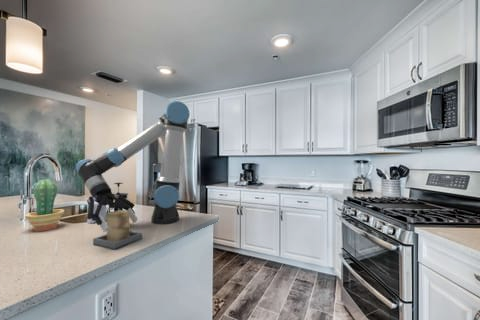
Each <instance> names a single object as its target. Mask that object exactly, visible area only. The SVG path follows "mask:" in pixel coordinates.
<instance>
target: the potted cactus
mask: <svg viewBox="0 0 480 320" xmlns="http://www.w3.org/2000/svg"><path fill="white" fill-rule="evenodd" d="M31 190H32V194H33V197H34V199H35V202H36V206H35V207H36V211H33V212H29V213H26V214H25V215H24V217H25V219H26V220H27V221H28V223H29V224H30V225H31V226H32V227H33V228H34V229H33V231H35V232H39V231H48V230H52V229H56V228H57V227H58V223H59V221H60V220H61V219H62V215H64V213H65V209H62V208H61V209H60V208H59V209H58V208H57V209H54V204H55V200H56V197H57V195H58V186H57V184H56V182H54V181H53V180H52V179H39V181H38V182H35V183H34V184H33V185H32V186H31Z"/></svg>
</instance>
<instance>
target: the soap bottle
mask: <svg viewBox="0 0 480 320" xmlns="http://www.w3.org/2000/svg"><path fill="white" fill-rule="evenodd" d="M98 204H99V203H97V202H95V201H94V213H93V214H95V211H96V209H97V206H98ZM86 206H87V208H86V211H87V212H86V216H87V215H88V203H87V205H86ZM99 215H102V217H103V219H104V220H105V221H107V205H106V206H104V205H102V208H101V210H100V213H99ZM99 215H98V216H99ZM86 222H87V223H88V224H97V223H96V221H93V220H92V219H87V221H86ZM94 222H95V223H94Z"/></svg>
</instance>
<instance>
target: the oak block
mask: <svg viewBox="0 0 480 320" xmlns="http://www.w3.org/2000/svg"><path fill="white" fill-rule="evenodd" d="M106 224H107V225H108V227H109V228H108V230H107V231H106V234H107V241H112V242H117V241H120V240H123V239H125V238H128V237H130V231H131V230H130V217H129V211H127V210H124V209H123V210H118V211H110V212H109V211H108V212H106Z"/></svg>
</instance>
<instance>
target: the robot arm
mask: <svg viewBox="0 0 480 320" xmlns="http://www.w3.org/2000/svg"><path fill="white" fill-rule="evenodd" d="M164 109H165V110H164V114H163V115H162V116H161V117H159V118H158V119H157V121H156V122H155V123H154V124H152V125H151V126H149V127H147V128H146V129H144V130H143V131H142V132H140V133H138V134H137V135H136V136H134V137H132V138H130V140H128V141H126V142H125V143H124V144H122V145H120V146H119V147H118V148H116V147H113V148H110V149H108V150H107V151H105V152H104V153H102V154H101V155H99V156H97V157H95V158H94V159H90V158H84V159H81V160H80V161H78V162H77V163H76V164H75V169H76V172H77V174H78V176H79V177H80V178H81V180H82V182H83V183H84V185H85V187H86V188H87V190H88V192H89V193H90V196H89V197H88V198H87V201H86V202H87V204H88V215H87V214H86V216H87V217H86V218H87V219H92V220H93V221H96V223H95V224H97V226H99V227H100V228H101V230H102V231H103V233H107V230H108V228H109V227H108V225H107V221H106V220H104V219H103V217H102V215H99V213H100V210H101V208H102V205H104V206H106V207H107V206H109V205H111V204H112V205H116V206H118V207H120V208H123V210H124V211H129V220H131V222H132V224H135V223H136V222H137V221H138V217H137V216H136V212H135V211H134V207H135V204H134V203H133V202H131V201H130V200H129V199H128V198H124V197H123V196H122V195H121V194H120V193H121V192H120V191H119V192H118V191H117V194H116V193H114V192H112V188H111V187H110V185H109V184H108V182H107V181H106V180H105V178H104V176H103V174H105V173H106V172H108V171H109V170H111V169H113V168H118V167H119V166H122V164H123V163H125V162H126V161H127V160H129V159H130V158H132V157H133V156H135V154H137V153H139V152H141V151H142V150H143V149H145V148H146V147H148V146H149V145H151V144H152V143H154V142H155V141H156V140H158V139H160V138H161V137H162V136H163V135H165V137H164V143H163V151H162V158H161V164H160V165H161V166H160V172H159V177H158V178H156V180H155V181H154V183H153V188H154V189H153V191H154V194H153V200H154V203H153V204H154V209H153V211H152V214H151V219H150V220H151V221H150V222H151V223H153V224H156V225H164V224H165V225H166V224H171V223H176V222H177V221H180V215H179V211H178V209H177V203H178V201H179V199H180V192H179V191H180V180H179V179H178V175H179V174H178V173H179V166H180V159H181V152H182V144H183V136H184V133H185V132H187V128H188V121H189V118H190V109H189V107H188V105H186V103H184V102H183V101H179V100H178V101H175V100H174V101H172V102H169V103H168V104H167V105H166V107H165V108H164ZM94 201H95V202H97V203H99V204H98V206H97V209H96V211H95V214H93V213H94ZM127 207H128V208H127ZM98 215H99V216H98Z"/></svg>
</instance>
